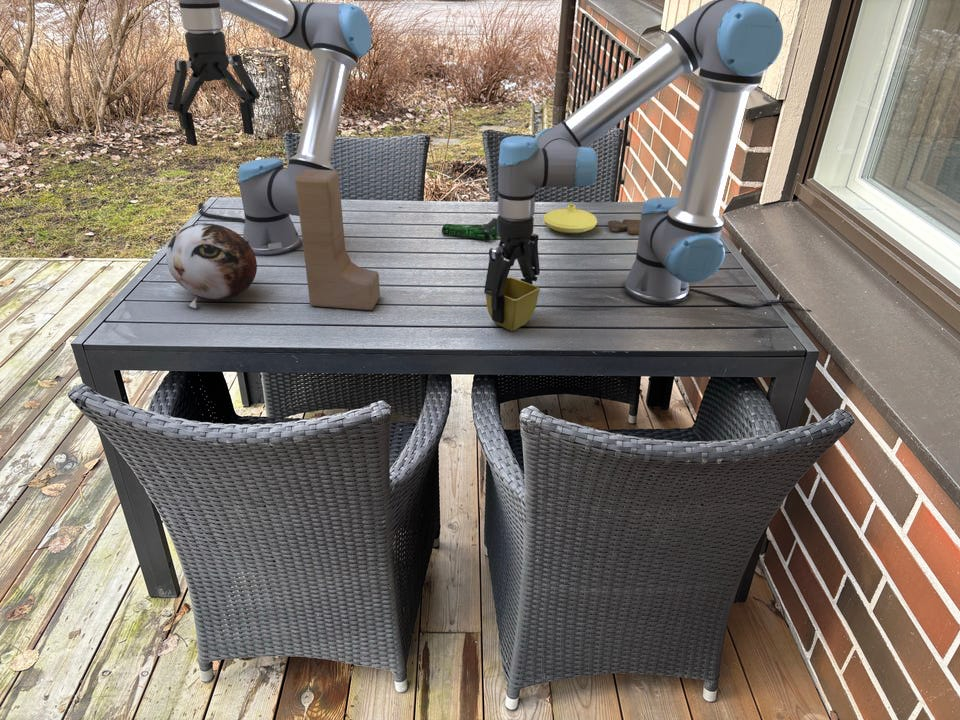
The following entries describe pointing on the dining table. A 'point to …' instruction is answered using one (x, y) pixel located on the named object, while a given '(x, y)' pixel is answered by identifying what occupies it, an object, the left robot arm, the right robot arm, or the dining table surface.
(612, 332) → the dining table surface
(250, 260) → the cat face balloon
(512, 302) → the square tapered planter
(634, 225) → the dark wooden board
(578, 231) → the yellow knobbed lid
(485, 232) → the handgun
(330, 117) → the left robot arm
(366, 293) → the decorative block
